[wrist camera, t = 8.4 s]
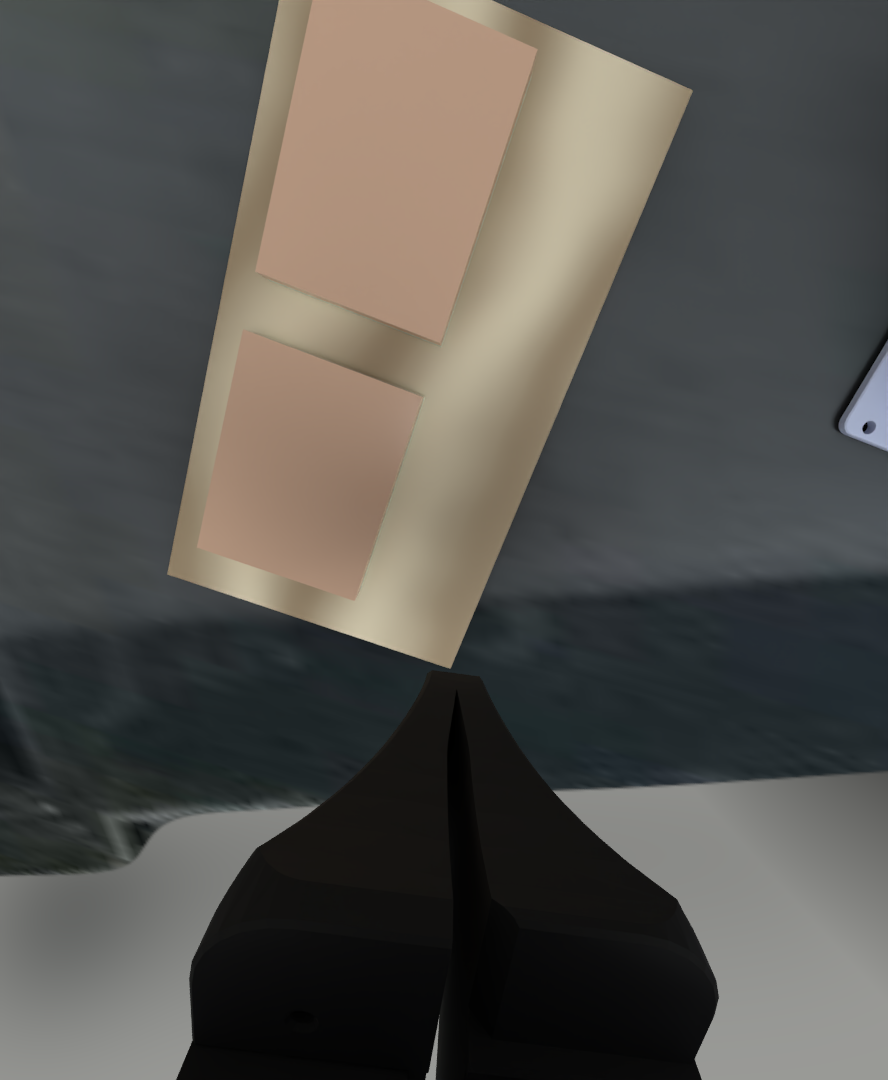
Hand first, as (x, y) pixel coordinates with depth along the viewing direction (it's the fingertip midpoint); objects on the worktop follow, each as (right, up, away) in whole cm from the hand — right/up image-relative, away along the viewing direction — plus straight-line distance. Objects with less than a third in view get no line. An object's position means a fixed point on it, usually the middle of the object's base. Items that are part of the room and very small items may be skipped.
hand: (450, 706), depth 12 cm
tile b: (-2, +6, +8) cm, 10 cm away
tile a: (+1, +16, +4) cm, 16 cm away
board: (-2, +11, +7) cm, 14 cm away
